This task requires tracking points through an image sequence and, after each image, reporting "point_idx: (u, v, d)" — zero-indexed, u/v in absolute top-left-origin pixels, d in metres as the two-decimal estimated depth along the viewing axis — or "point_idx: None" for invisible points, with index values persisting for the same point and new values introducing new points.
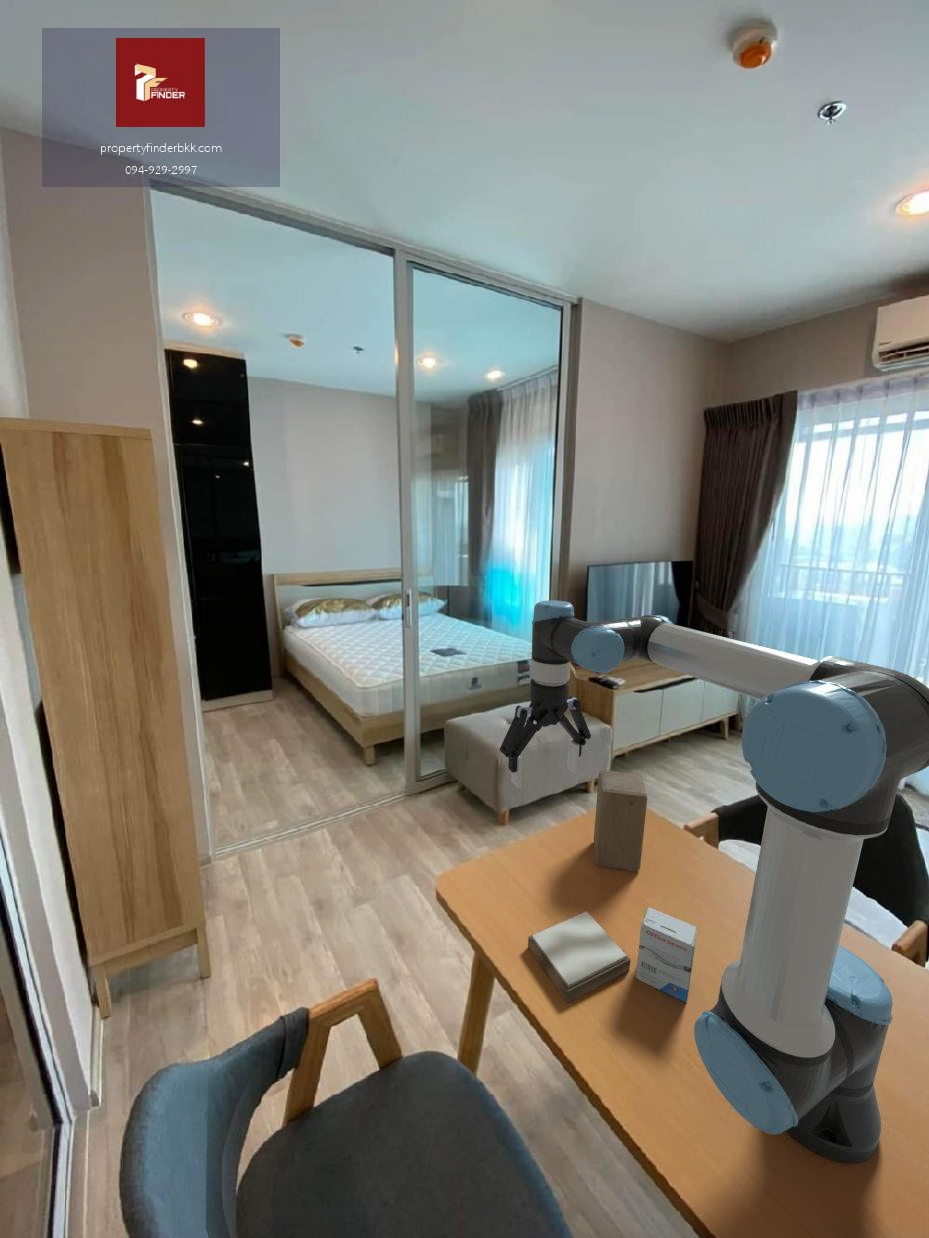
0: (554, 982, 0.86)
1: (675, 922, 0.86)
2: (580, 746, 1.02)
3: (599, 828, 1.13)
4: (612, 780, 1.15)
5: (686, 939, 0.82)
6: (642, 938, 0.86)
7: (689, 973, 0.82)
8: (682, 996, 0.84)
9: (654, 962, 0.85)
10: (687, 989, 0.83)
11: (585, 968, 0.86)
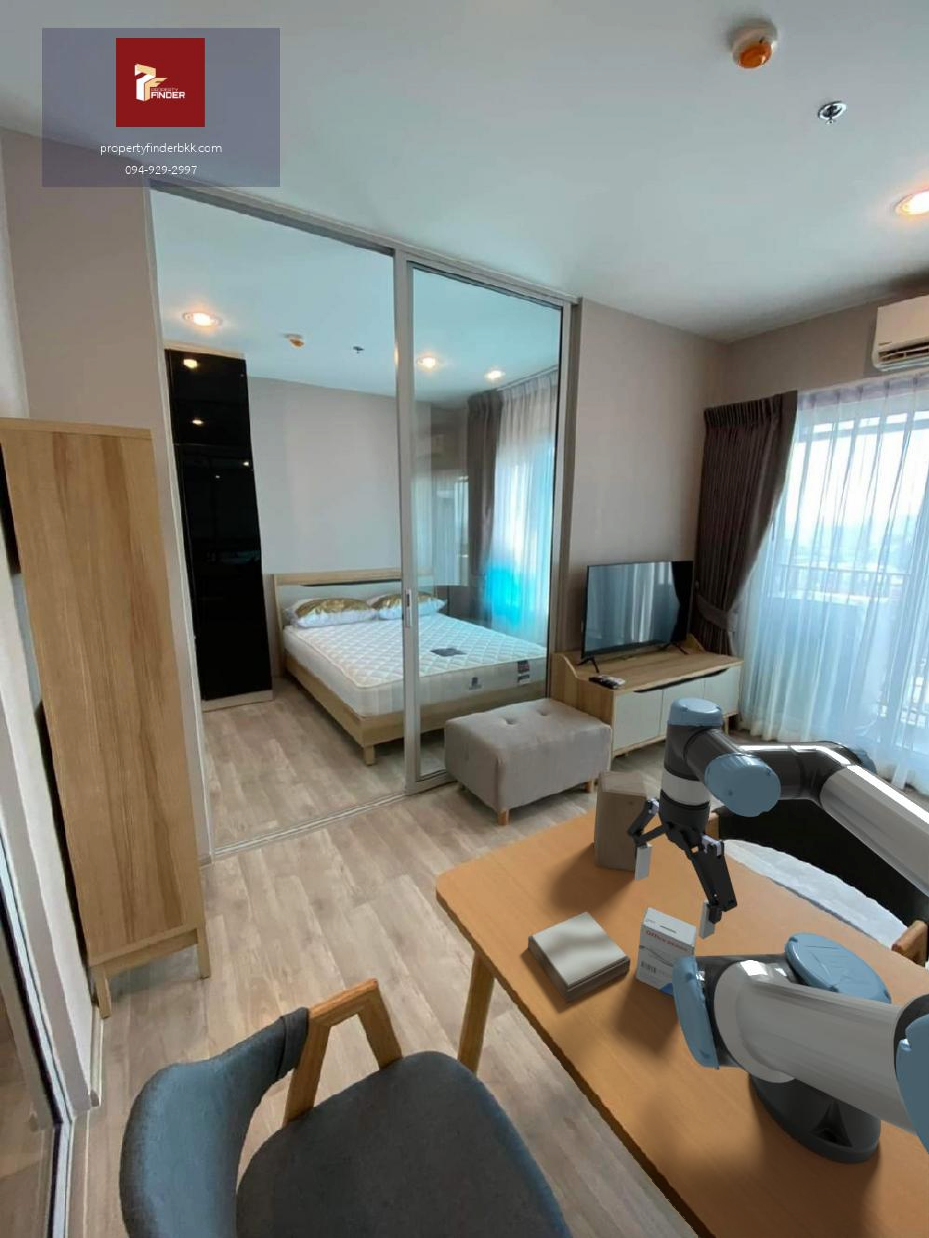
0: (554, 982, 0.86)
1: (675, 922, 0.86)
2: (714, 911, 0.76)
3: (599, 828, 1.13)
4: (613, 780, 1.15)
5: (686, 939, 0.82)
6: (642, 939, 0.86)
7: None
8: None
9: (654, 962, 0.85)
10: None
11: (585, 968, 0.86)
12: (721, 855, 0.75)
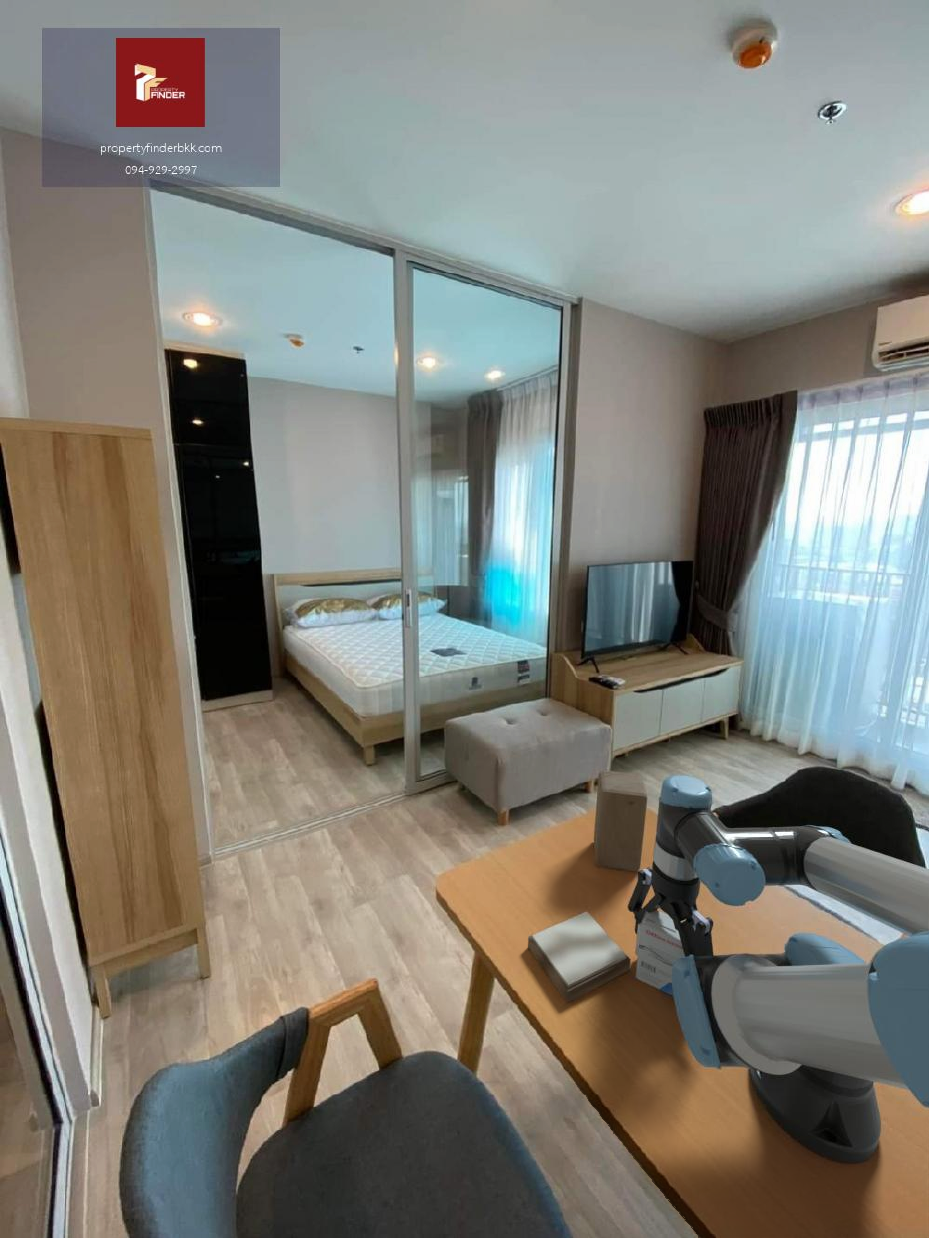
0: (554, 982, 0.86)
1: None
2: None
3: (599, 828, 1.13)
4: (613, 780, 1.15)
5: None
6: (641, 938, 0.86)
7: None
8: None
9: (654, 962, 0.85)
10: None
11: (585, 968, 0.86)
12: (708, 932, 0.78)
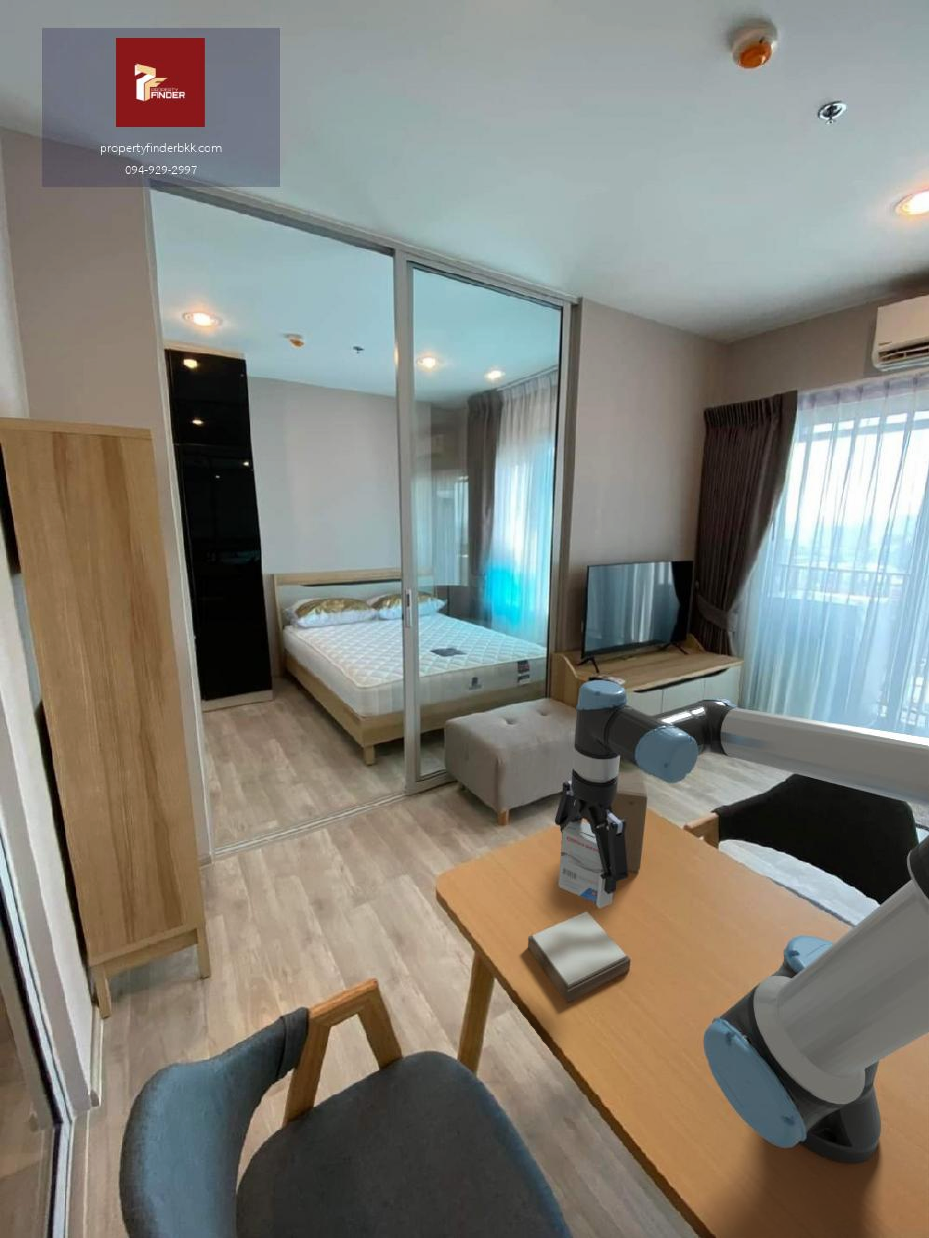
0: (554, 982, 0.86)
1: None
2: (608, 882, 0.81)
3: None
4: None
5: None
6: (563, 845, 0.87)
7: None
8: None
9: (574, 868, 0.86)
10: None
11: (585, 968, 0.86)
12: (621, 833, 0.79)
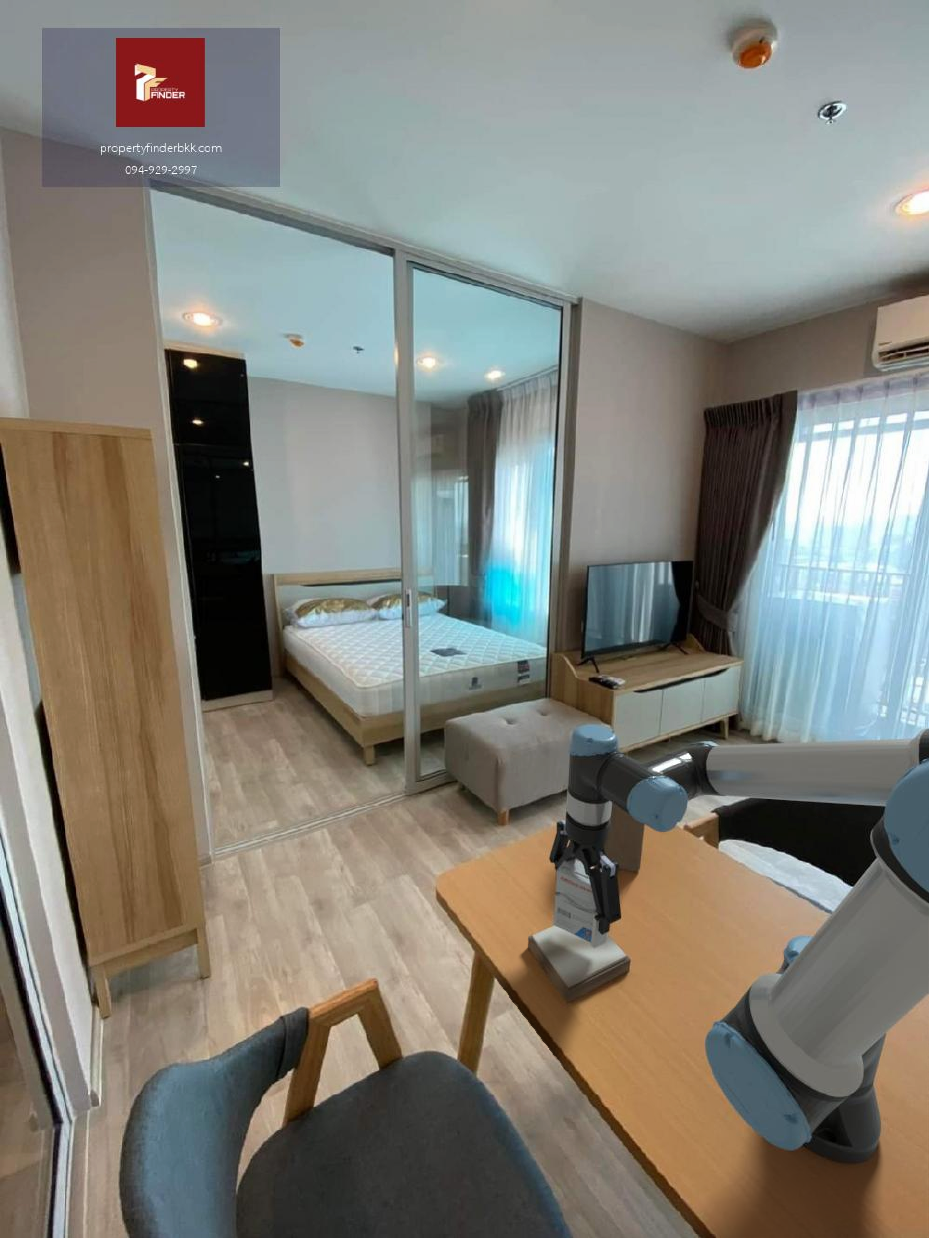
0: (554, 982, 0.86)
1: None
2: (602, 923, 0.83)
3: None
4: None
5: None
6: (557, 885, 0.88)
7: None
8: None
9: (569, 908, 0.88)
10: None
11: (585, 968, 0.86)
12: (614, 875, 0.81)
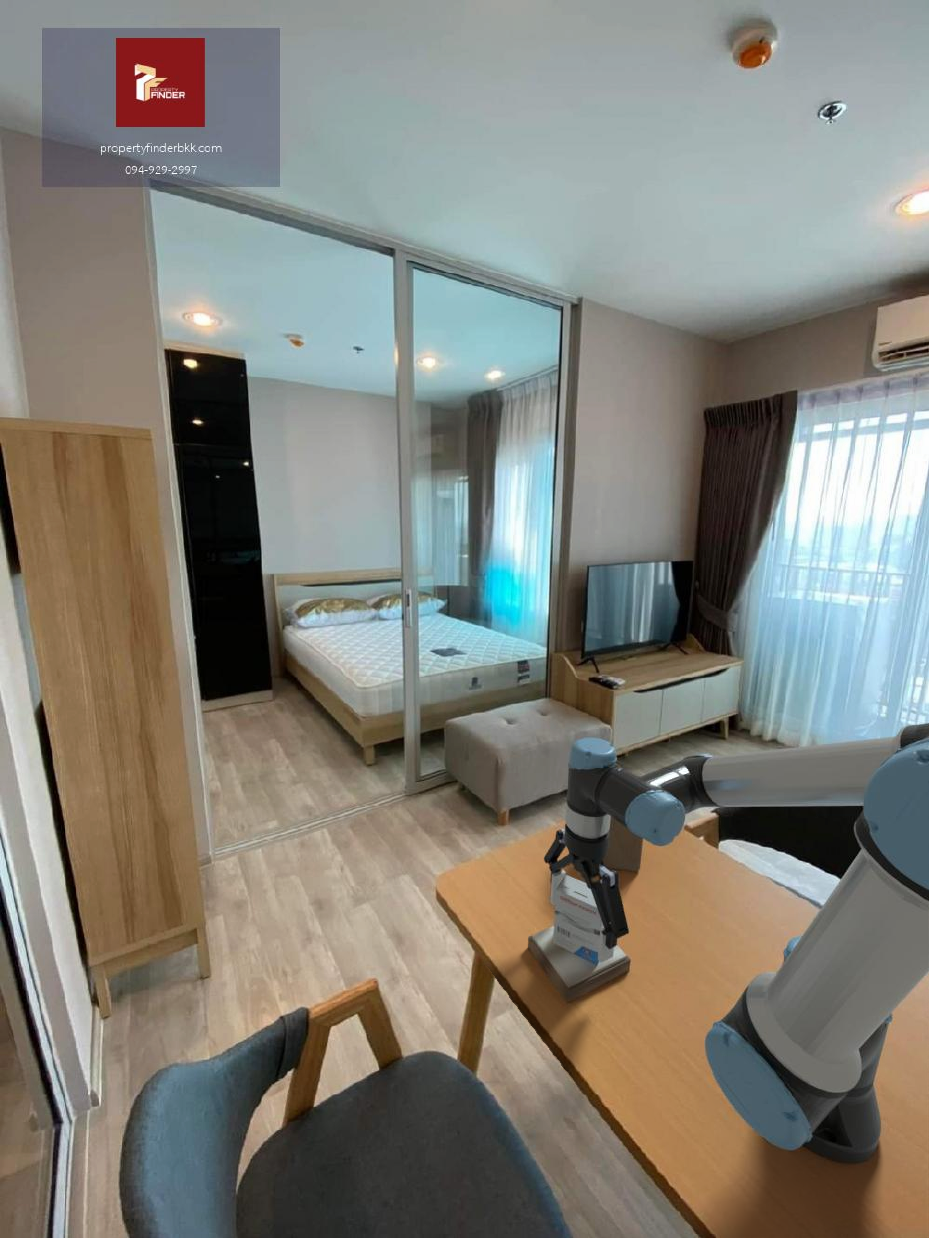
0: (554, 982, 0.86)
1: None
2: (609, 937, 0.81)
3: None
4: None
5: None
6: (557, 904, 0.89)
7: (599, 936, 0.86)
8: (593, 959, 0.87)
9: (568, 927, 0.88)
10: None
11: (585, 968, 0.86)
12: (615, 885, 0.81)
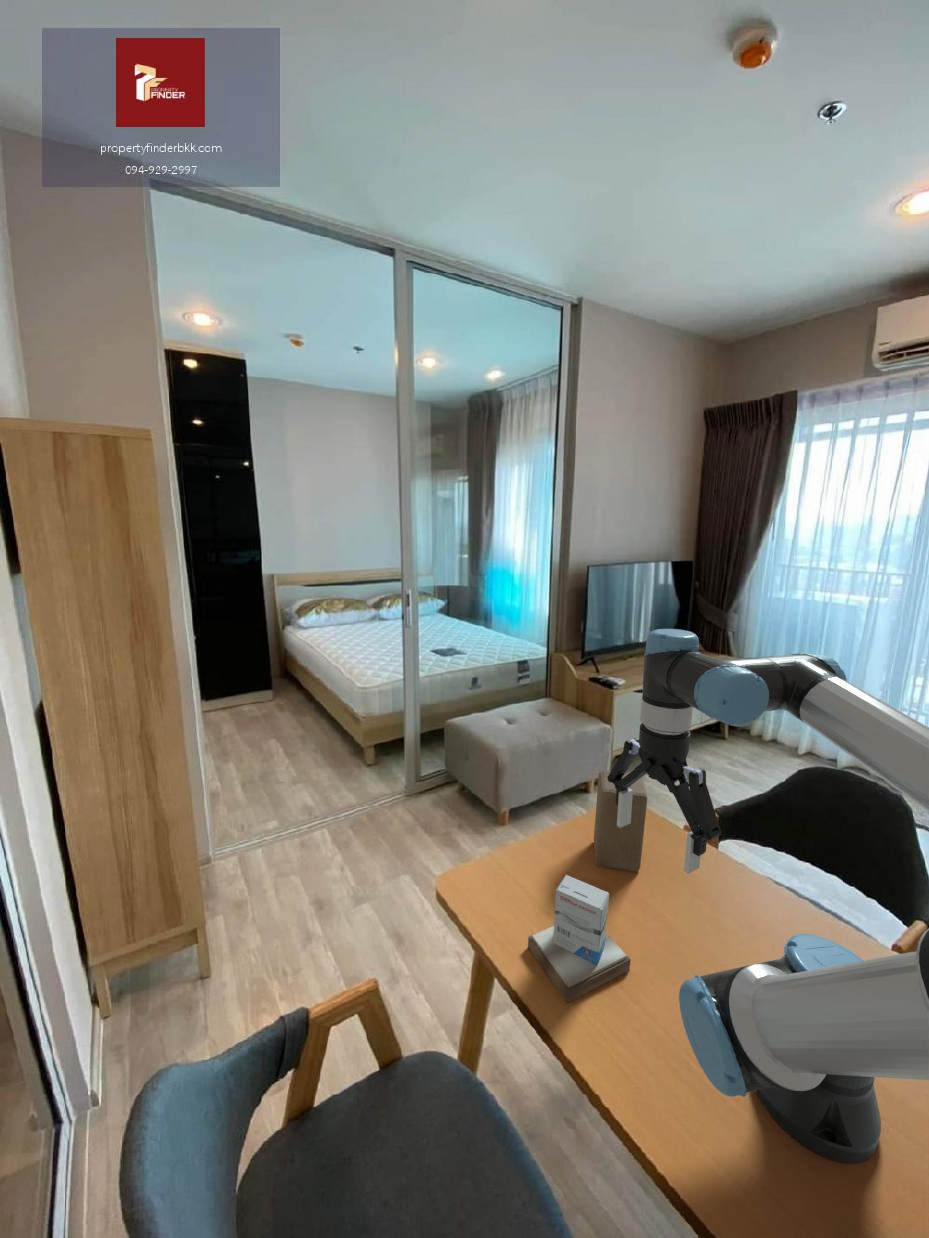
0: (554, 982, 0.86)
1: (589, 888, 0.89)
2: (699, 842, 0.74)
3: (599, 828, 1.13)
4: None
5: (596, 903, 0.85)
6: (557, 904, 0.89)
7: (599, 936, 0.86)
8: (593, 959, 0.87)
9: (568, 927, 0.88)
10: (598, 952, 0.86)
11: (585, 968, 0.86)
12: (703, 783, 0.74)
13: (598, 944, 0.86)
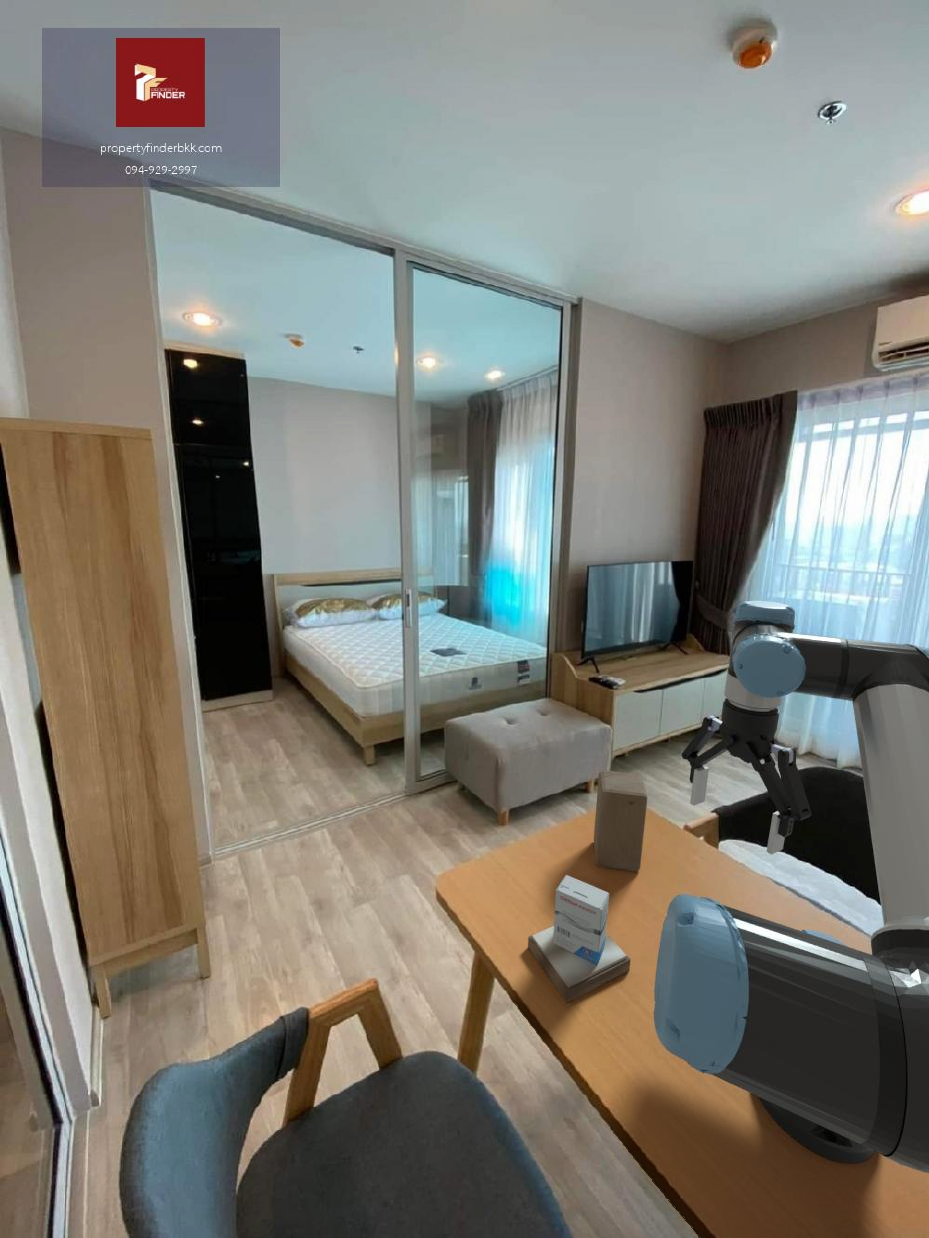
0: (554, 982, 0.86)
1: (589, 888, 0.89)
2: (785, 822, 0.71)
3: (599, 828, 1.13)
4: (613, 780, 1.15)
5: (596, 903, 0.85)
6: (557, 904, 0.89)
7: (599, 936, 0.86)
8: (593, 959, 0.87)
9: (568, 927, 0.88)
10: (598, 952, 0.86)
11: (585, 968, 0.86)
12: (793, 763, 0.71)
13: (598, 944, 0.86)
